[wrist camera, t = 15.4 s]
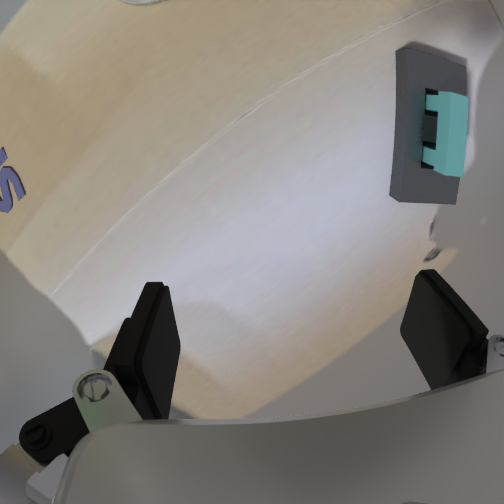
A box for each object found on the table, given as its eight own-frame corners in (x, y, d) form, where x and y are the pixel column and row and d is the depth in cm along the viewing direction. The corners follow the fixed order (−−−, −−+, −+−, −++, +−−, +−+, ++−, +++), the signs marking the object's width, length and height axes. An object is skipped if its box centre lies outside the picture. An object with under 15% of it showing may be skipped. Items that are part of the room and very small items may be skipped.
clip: (417, 90, 32) (450, 91, 25) (434, 94, 32) (468, 97, 25) (414, 161, 36) (444, 175, 30) (430, 163, 36) (462, 177, 30)
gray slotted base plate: (395, 50, 29) (406, 48, 27) (453, 67, 30) (466, 66, 27) (389, 195, 38) (399, 202, 36) (444, 197, 39) (455, 204, 36)
